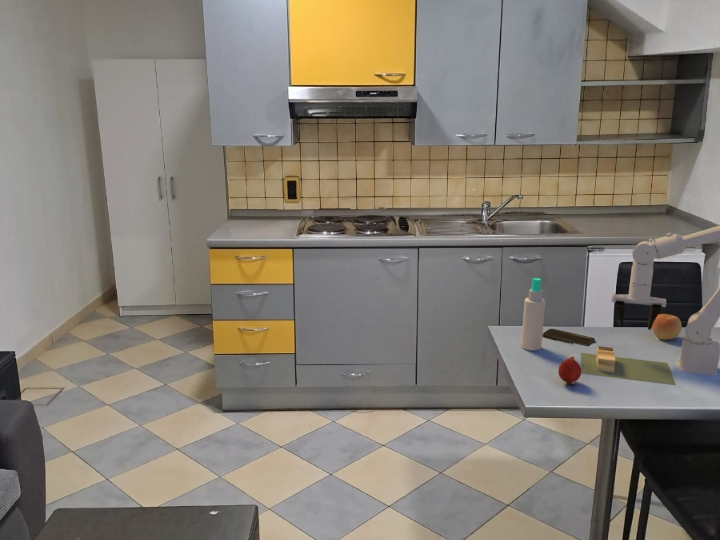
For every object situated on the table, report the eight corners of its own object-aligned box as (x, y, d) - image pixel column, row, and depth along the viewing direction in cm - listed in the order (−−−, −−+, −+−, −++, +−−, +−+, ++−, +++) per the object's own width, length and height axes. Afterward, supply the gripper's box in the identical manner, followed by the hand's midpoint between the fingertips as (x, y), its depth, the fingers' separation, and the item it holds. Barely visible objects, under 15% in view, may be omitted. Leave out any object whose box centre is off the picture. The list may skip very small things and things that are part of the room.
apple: (650, 340, 206) (653, 317, 204) (649, 332, 214) (653, 309, 212) (680, 345, 203) (684, 320, 201) (678, 335, 210) (682, 312, 208)
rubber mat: (667, 364, 187) (667, 362, 187) (675, 386, 173) (675, 385, 173) (580, 353, 194) (580, 352, 194) (581, 374, 180) (581, 373, 179)
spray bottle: (545, 349, 197) (551, 280, 192) (529, 352, 195) (535, 282, 189) (532, 342, 203) (538, 275, 197) (516, 345, 200) (522, 277, 195)
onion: (565, 389, 170) (567, 361, 168) (553, 380, 175) (555, 353, 173) (584, 387, 172) (587, 359, 170) (571, 378, 177) (574, 351, 175)
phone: (550, 328, 214) (596, 338, 205) (550, 331, 214) (595, 341, 206) (541, 334, 208) (587, 345, 199) (540, 338, 208) (587, 348, 200)
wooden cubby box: (613, 372, 180) (615, 360, 179) (597, 370, 181) (598, 358, 180) (611, 359, 189) (613, 347, 188) (596, 357, 191) (597, 345, 190)
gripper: (666, 281, 188) (660, 325, 192) (613, 277, 192) (608, 320, 196) (669, 288, 182) (663, 333, 185) (614, 283, 186) (609, 327, 189)
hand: (635, 327), depth 190 cm, fingers open, 7 cm apart
